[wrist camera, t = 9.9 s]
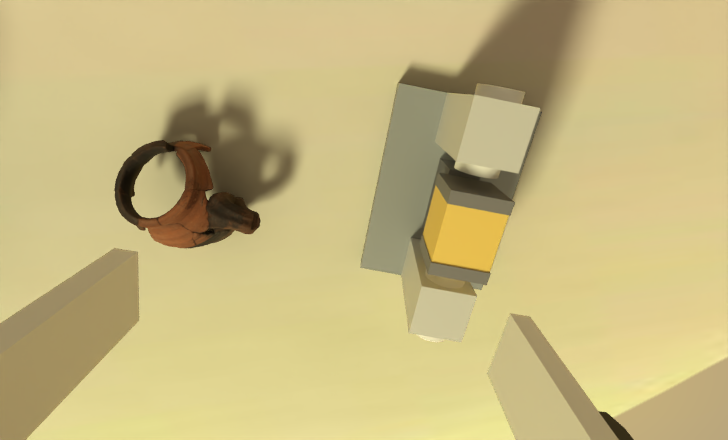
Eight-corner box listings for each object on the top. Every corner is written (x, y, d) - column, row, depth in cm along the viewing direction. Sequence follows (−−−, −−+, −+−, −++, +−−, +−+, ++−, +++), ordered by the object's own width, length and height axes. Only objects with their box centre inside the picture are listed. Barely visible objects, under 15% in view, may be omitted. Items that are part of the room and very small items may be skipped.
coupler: (419, 244, 30) (427, 274, 25) (438, 172, 28) (451, 190, 23) (468, 253, 30) (486, 285, 25) (491, 182, 28) (514, 202, 23)
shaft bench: (359, 267, 37) (354, 331, 28) (399, 73, 31) (410, 67, 21) (475, 288, 38) (510, 359, 28) (537, 101, 32) (610, 108, 22)
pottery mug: (163, 240, 38) (89, 228, 30) (190, 152, 39) (125, 118, 31) (268, 268, 35) (218, 263, 27) (294, 173, 36) (253, 141, 28)
